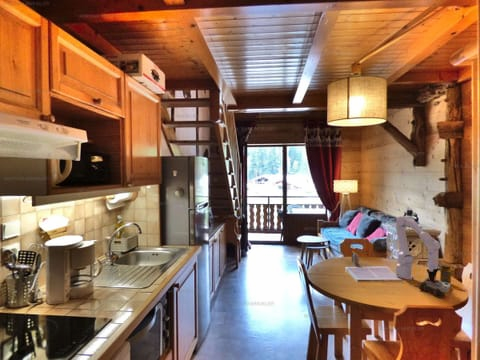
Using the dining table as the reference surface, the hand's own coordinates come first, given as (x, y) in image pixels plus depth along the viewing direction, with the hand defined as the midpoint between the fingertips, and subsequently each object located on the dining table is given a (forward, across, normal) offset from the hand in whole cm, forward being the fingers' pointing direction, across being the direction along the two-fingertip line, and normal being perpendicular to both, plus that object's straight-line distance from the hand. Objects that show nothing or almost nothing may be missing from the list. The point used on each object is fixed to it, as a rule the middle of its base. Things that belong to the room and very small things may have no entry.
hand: (432, 279), depth 202 cm
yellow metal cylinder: (+5, +14, -5) cm, 16 cm away
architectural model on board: (+6, +19, +58) cm, 61 cm away
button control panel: (+5, +1, -2) cm, 5 cm away
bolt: (+5, -13, -2) cm, 14 cm away
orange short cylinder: (+2, 0, 0) cm, 2 cm away
